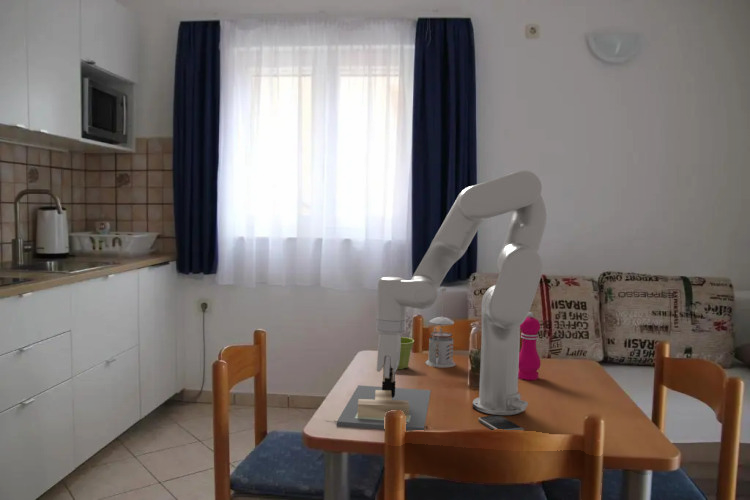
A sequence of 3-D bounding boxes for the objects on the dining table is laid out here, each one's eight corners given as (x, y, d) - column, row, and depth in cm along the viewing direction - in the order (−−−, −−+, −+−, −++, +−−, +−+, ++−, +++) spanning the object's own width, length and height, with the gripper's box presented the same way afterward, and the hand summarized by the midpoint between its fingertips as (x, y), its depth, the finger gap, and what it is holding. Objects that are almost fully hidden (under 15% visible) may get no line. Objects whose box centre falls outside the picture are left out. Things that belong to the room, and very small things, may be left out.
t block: (359, 401, 161) (359, 389, 161) (406, 402, 161) (407, 390, 161) (357, 416, 149) (357, 404, 149) (408, 418, 149) (409, 405, 149)
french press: (459, 362, 209) (461, 286, 207) (449, 370, 198) (452, 290, 197) (430, 358, 213) (433, 284, 211) (419, 366, 202) (422, 288, 200)
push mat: (358, 388, 175) (358, 385, 175) (430, 393, 173) (430, 390, 173) (336, 425, 146) (336, 421, 146) (423, 432, 143) (424, 427, 143)
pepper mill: (542, 377, 193) (545, 311, 192) (535, 382, 187) (539, 315, 186) (519, 373, 197) (522, 309, 196) (512, 378, 191) (515, 312, 189)
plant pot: (413, 371, 196) (414, 343, 195) (383, 370, 196) (384, 342, 195) (412, 363, 205) (413, 337, 204) (383, 363, 205) (384, 336, 204)
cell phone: (498, 419, 154) (498, 414, 154) (525, 435, 144) (526, 429, 144) (476, 422, 152) (476, 416, 152) (502, 438, 142) (503, 432, 142)
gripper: (380, 319, 170) (378, 387, 171) (372, 330, 155) (369, 404, 156) (408, 321, 169) (405, 389, 170) (402, 332, 154) (399, 406, 155)
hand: (388, 396), depth 163 cm, fingers closed
